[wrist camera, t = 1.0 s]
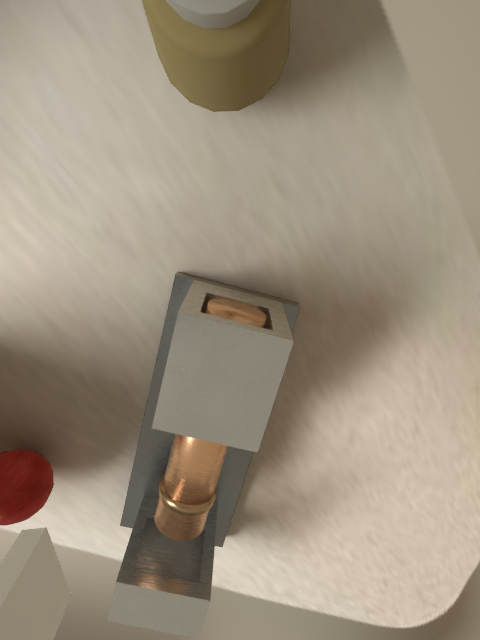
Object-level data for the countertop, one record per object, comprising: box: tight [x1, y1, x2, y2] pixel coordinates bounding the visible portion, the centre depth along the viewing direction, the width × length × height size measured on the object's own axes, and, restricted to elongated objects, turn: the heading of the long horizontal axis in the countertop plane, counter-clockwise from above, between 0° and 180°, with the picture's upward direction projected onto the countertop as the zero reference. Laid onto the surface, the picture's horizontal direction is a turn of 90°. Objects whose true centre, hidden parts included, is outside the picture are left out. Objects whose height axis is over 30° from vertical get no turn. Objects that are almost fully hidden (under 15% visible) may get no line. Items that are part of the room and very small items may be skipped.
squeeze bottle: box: [142, 0, 290, 112], centre depth 20 cm, size 8×8×18 cm
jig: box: [107, 272, 300, 638], centre depth 33 cm, size 10×25×10 cm, turn 165°
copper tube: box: [155, 299, 266, 541], centre depth 30 cm, size 4×18×4 cm, turn 165°
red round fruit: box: [0, 449, 54, 525], centre depth 35 cm, size 6×6×8 cm
